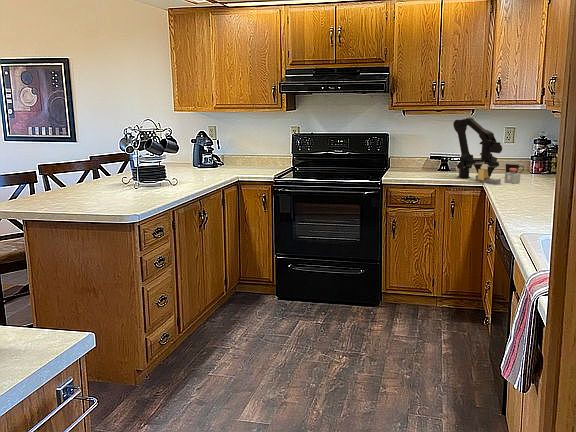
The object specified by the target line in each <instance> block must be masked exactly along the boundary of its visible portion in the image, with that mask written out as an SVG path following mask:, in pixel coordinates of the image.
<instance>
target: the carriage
mask: <svg viewBox="0 0 576 432" xmlns="http://www.w3.org/2000/svg"><path fill="white" fill-rule="evenodd" d="M477 175H478V179H480V180H484V179H485V178H491V176H490V177H489V176H488V168H481V169H478V173H477Z"/></svg>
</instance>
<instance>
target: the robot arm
mask: <svg viewBox="0 0 576 432" xmlns="http://www.w3.org/2000/svg"><path fill="white" fill-rule="evenodd" d="M468 126H469V127H470V128H471V129H472V130H474V132H476V133H477V134H478V137H479V139H480V140H481V141H480V142H479V145H481V152H480V153H479V155H480V158H474V155H473V154H471V153H470V150H469V145H468V139H467V134H466V131H467V129H468ZM453 128H454V130H455V132H456V133H457V138H458V143H459V148H460V152H461V155H460V158H459V162H458V163H457V165H456V168H457V169H458V176H456V178H460V179H471V177H470V169H472V168H473V167H474V168H475V170H476V173H477V174H478V169H482V166H483V165H488V166H487V169H488V176H489V177H490V178H491V176H492V174H493V171H494V170H495V169H496V168H498V167H500V163H499V161H498V157H495V156H493V154H501V153H502V151H503V146H502V144H501V141H499V142H498V141H497V139H496V138H495V134H494V133H493V132H492V131H490V130H488V129H486V128H484V127H483V126H481V125H480V124H479V122H477V121H475V120H474V118H472V117H466V118H463V119H455V120H454V121H453Z"/></svg>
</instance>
